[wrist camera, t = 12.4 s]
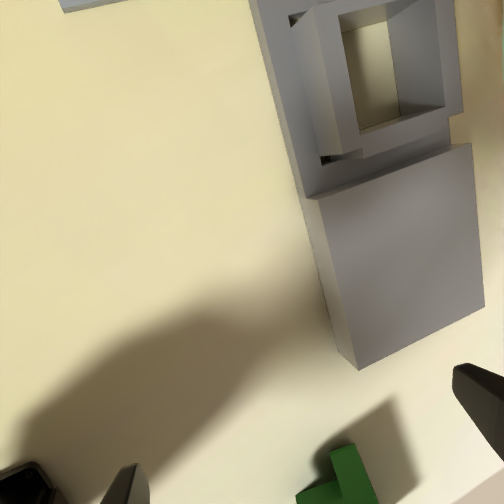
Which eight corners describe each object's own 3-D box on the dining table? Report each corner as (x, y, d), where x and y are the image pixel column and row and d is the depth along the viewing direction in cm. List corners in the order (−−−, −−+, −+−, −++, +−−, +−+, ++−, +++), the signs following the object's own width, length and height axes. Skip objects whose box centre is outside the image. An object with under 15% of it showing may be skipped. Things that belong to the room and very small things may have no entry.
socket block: (338, 351, 25) (367, 379, 21) (247, -2, 17) (270, -43, 14) (455, 295, 27) (498, 312, 23) (417, -41, 20) (470, -83, 16)
